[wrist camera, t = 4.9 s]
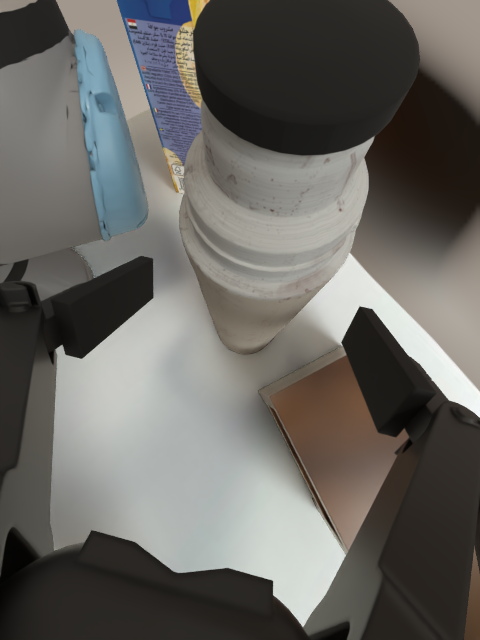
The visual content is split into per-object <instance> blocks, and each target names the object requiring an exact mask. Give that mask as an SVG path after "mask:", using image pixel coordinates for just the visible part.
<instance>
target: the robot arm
mask: <svg viewBox="0 0 480 640" xmlns="http://www.w3.org/2000/svg"><path fill="white" fill-rule="evenodd" d="M147 216H148V203H147V198H146V193H145V189H144V185H143V181H142V177H141V173H140V169H139V165H138V161H137V158H136V154H135V150H134V147H133V143H132V140H131V136H130V132H129V129H128V125H127V122H126V118H125V115H124V111H123V108H122V104H121V101H120V98H119V95H118V91H117V88H116V85H115V82H114V79H113V76H112V73H111V70H110V68H109V64H108V61H107V56H106V54H105V51H104V48H103V46H102V44H101V42H100V41H99V39H98V38H97V37H96V36H94V35H92V34H87V33H85V32H84V31H83V30H81V29H78V30H74V35H73V34H72V33H71V31H70V30H69V28H68V26H67V24H66V22H65V20H64V17H63V15H62V13H61V11H60V9H59V6H58V4H57V2H56V0H0V640H464V633H465V624H466V615H467V606H468V597H469V588H470V579H471V570H472V561H473V552H474V545H475V551H476V556H477V560H478V566H479V571H480V418H479V417H478V416H477V415H476V414H475V413H473V412H472V411H471V410H469V409H468V408H466V407H464V406H462V405H460V404H458V403H455V402H452V401H449V400H448V399H447V398H446V396H445V395H444V394H443V393H442V391H441V390H440V389H439V388H438V386H437V385H436V384H435V383H434V381H431V380H432V379H431V378H430V376H429V375H428V374H426V372H425V370H424V369H423V368H422V367H421V365H420V364H419V363H417V362H416V361H415V360H414V359H412V358H411V357H409V356H408V355H407V353H406V352H405V351H404V350H403V348H402V347H401V346H400V344H399V343H398V342H397V341H396V339H395V338H394V337H393V335H392V334H391V333H390V331H389V330H388V329H387V328H386V326H385V325H384V324H383V322H382V321H381V320H380V319H379V317H378V316H377V315H376V313H375V312H374V311H373V310H372V309H369V308H365V307H359V309H358V311H357V313H356V315H355V317H354V319H353V320H352V322H351V324H350V326H349V328H348V330H347V332H346V334H345V336H344V338H343V340H342V342H341V343H342V345H343V348H344V350H345V353H346V355H347V358H348V360H349V363H350V365H351V367H352V370H353V372H354V375H355V377H356V380H357V382H358V385H359V387H360V390H361V392H362V395H363V397H364V400H365V402H366V405H367V407H368V410H369V412H370V415H371V417H372V420H373V422H374V424H375V427H376V429H377V432H378V433H380V434H384V435H388V436H392V437H397V436H398V435H399V434H400V433H401V432H402V431H403V430H404V428H405V430H406V432H407V434H408V436H409V438H408V439H407V440H406V441H405V442H404V443H403V444H402V445H401V446H400V447H399V448H398V449H397V450H396V451H395V452H394V453H395V454H396V455H397V457H396V459H395V461H394V463H393V465H392V467H391V469H390V471H389V473H388V475H387V477H386V479H385V480H384V482H383V484H382V486H381V488H380V490H379V492H378V494H377V496H376V498H375V500H374V502H373V504H372V506H371V508H370V510H369V512H368V514H367V516H366V518H365V519H364V521H363V523H362V525H361V527H360V529H359V531H358V533H357V535H356V537H355V539H354V541H353V543H352V545H351V547H350V549H349V551H348V553H347V555H346V556H345V558H344V560H343V562H342V564H341V566H340V568H339V570H338V572H337V574H336V576H335V578H334V580H333V582H332V584H331V586H330V588H329V590H328V591H327V593H326V595H325V596H324V598H323V599H322V601H321V602H320V603H319V604H318V606H317V607H316V608H315V609H314V611H313V612H312V614H311V615H310V617H309V618H308V620H307V622H306V624H305V625H304V627H302V626H301V624H300V623H299V621H298V620H297V619H296V618H295V616H294V615H293V614H292V613H291V612H290V610H289V609H288V608H287V607H286V606H285V605H284V604H283V603H282V602H281V601H279V600H278V599H277V598H276V597H274V596H273V581H272V580H268V579H265V578H261V577H258V576H254V575H250V574H247V573H243V572H240V571H236V570H233V569H229V568H224V569H215V570H205V571H196V572H187V573H176V572H173V571H172V570H170V569H169V568H168V567H167V566H165V565H164V564H163V563H161V562H160V561H159V560H157V559H156V558H155V557H154V556H152V555H151V554H150V553H148V552H147V551H146V550H144V549H143V548H142V547H141V546H139V545H138V544H137V543H135V542H132V541H129V540H125V539H122V538H118V537H115V536H111V535H107V534H104V533H100V532H97V531H93V530H91V532H90V534H89V536H88V538H87V539H86V541H85V543H79V544H75V545H71V546H67V547H64V548H61V549H59V550H56V551H53V536H52V531H51V525H50V496H51V475H52V454H53V433H54V411H55V390H56V369H57V354H56V350H55V349H56V348H58V347H59V346H60V345H62V344H63V347H64V351H65V354H66V355H69V356H73V357H77V358H81V359H82V358H83V357H85V356H86V355H87V354H88V353H89V352H90V351H92V350H93V349H94V348H95V347H96V346H97V345H99V344H100V343H101V342H102V341H103V340H104V339H106V338H107V337H108V336H109V335H110V334H112V333H113V332H114V331H115V330H116V329H117V328H119V327H120V326H121V325H122V324H123V323H124V322H126V321H127V320H128V319H129V318H130V317H131V316H133V315H134V314H135V313H136V312H137V311H138V310H140V309H141V308H142V307H143V306H144V305H145V304H147V303H148V302H149V301H150V300H151V299H152V298H153V259H152V258H148V257H144V256H140V257H138V258H136V259H134V260H132V261H130V262H127V263H125V264H123V265H121V266H119V267H117V268H115V269H113V270H111V271H109V272H107V273H104V274H102V275H100V276H98V277H96V278H94V279H93V275H92V272H91V270H90V267H89V266H88V264H87V263H86V261H85V260H84V259H83V258H82V257H81V256H80V255H78V254H77V253H76V252H75V251H73V250H72V249H71V248H70V247H74V246H78V245H81V244H85V243H89V242H93V241H96V240H100V239H103V240H104V241H108V240H110V238H111V237H112V236H115V235H118V234H121V233H125V232H128V231H131V230H134V229H137V228H139V227H140V226H142V225H143V224H144V223H145V221H146V219H147Z"/></svg>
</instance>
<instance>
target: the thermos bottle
mask: <svg viewBox="0 0 480 640" xmlns="http://www.w3.org/2000/svg"><path fill="white" fill-rule="evenodd" d="M193 52H194V61H195V68H196V76H197V83H198V86H199V90H200V93H201V96H202V102H201V125H202V130H201V131H200V132H199V134H198V135H197V136H196V137H195V139H194V140H193V142H192V144H191V146H190V148H189V150H188V152H187V156H186V161H185V165H184V185H185V186H184V195H183V198H182V202H181V206H180V211H179V228H180V232H181V236H182V241H183V244H184V247H185V250H186V252H187V255H188V257H189V260H190V262H191V265H192V267H193V269H194V271H195V273H196V276H197V278H198V281H199V285H200V288H201V291H202V294H203V296H204V299H205V302H206V304H207V307H208V309H209V312H210V315H211V317H212V320H213V322H214V325H215V328H216V330H217V333H218V335H219V337H220V339H221V341H222V342H223V344H224V345H225V346H226V347H227V348H229V349H230V350H232V351H234V352H237V353H241V354H251V353H255V352H257V351H259V350H261V349H263V348H264V347H265V346H266V345H267V344H268V343H269V342H270V341H271V340H272V339H273V338H274V337H275V336H276V334H277V333H278V332H280V331H281V330H282V329H283V328H284V327H285V326H286V325H287V324H288V323H289V322H290V321H291V320H292V318H293V317H294V316H295V315H296V314H297V313H298V312H299V311H300V310H301V309H302V308H303V307H304V306H305V305H306V304H307V303H308V302H309V301H310V300H311V299H312V298H313V297H314V296H315V295H316V294H317V293H318V292H319V291H320V290H321V289H322V287H323V286H324V285H325V284H326V283H327V282H328V281H329V280H330V279H331V278H332V277H333V276H334V275H335V274H336V272H337V271H338V270H339V269H340V268H341V266H342V265H343V264H344V262H345V260H346V258H347V256H348V255H349V253H350V250H351V248H352V244H353V240H354V236H355V230H356V228H357V226H358V224H359V221H360V218H361V215H362V211H363V207H364V205H365V202H366V197H367V193H368V171H367V167H366V163H365V159H364V156H365V154H366V153H367V151H368V149H369V147H370V145H371V144H372V142H373V139H374V136H375V135H377V134H378V133H379V132H380V131H381V130H382V129H383V128H384V127H385V126H386V125H387V124H388V123H389V122H390V120H391V119H392V117H393V116H394V114H395V112H396V111H397V109H398V108H399V106H400V104H401V103H402V101H403V99H404V97H405V96H406V94H407V92H408V91H409V89H410V87H411V85H412V83H413V82H414V80H415V78H416V76H417V72H418V67H419V62H420V55H419V45H418V41H417V39H416V36H415V33H414V31H413V28H412V27H411V25H410V24H409V22H408V21H407V19H406V18H405V17H404V15H403V14H402V13H401V12H400V11H399V10H398V9H397V8H396V7H395V6H394V5H393V4H392V3H391V2H389V1H388V0H210V1H209V2H208V3H207V4H206V5H205V7H204V8H203V10H202V12H201V13H200V15H199V16H198V18H197V21H196V24H195V28H194V31H193Z"/></svg>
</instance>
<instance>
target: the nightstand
mask: <svg viewBox="0 0 480 640" xmlns="http://www.w3.org/2000/svg"><path fill="white" fill-rule="evenodd" d="M259 393H260V395H261V397H262V399H263V401H264V402H265V403H266V404H267V406H268V408H269V410H270V412H271V414H272V416H273V418H274V420H275V422H276V424H277V425H278V427H279V429H280V431H281V433H282V435H283V437H284V439H285V441H286V443H287V445H288V447H289V449H290V451H291V453H292V455H293V457H294V459H295V461H296V463H297V465H298V467H299V469H300V471H301V473H302V475H303V477H304V479H305V481H306V483H307V485H308V487H309V489H310V491H311V493H312V495H313V498H312V499H313V501H314V503H315V505H316V507H317V509H318V511H319V513H320V514H321V516H322V518H323V519H324V521H325V522H326V524H327V525H328V527H329V529H330V530H331V532H332V533H333V535H334V537H335V538H336V540H337V541H338V543H339V545H340V546H341V548H342V549H343V551H344V552H345V554H346V555H347V553H348V551H349V549H350V547H351V545H352V543H353V541H354V539H355V537H356V535H357V533H358V531H359V529H360V527H361V525H362V523H363V521H364V519H365V518H366V516H367V514H368V512H369V510H370V508H371V506H372V504H373V502H374V500H375V498H376V496H377V494H378V492H379V490H380V488H381V486H382V484H383V482H384V480H385V479H386V477H387V475H388V473H389V471H390V469H391V467H392V465H393V463H394V461H395V459H396V457H397V455H396V454H395V453H394V452H395V451H396V450H397V449H398V448H399V447H400V446H401V445H402V444H403V443H404V442H405V441H406V440H407V439H408V438H409V436H408V434H407V432H406V430H405V428H404V430H403V431H402V432H401V433H400V434H399V435H398V436H397V437H392V436H388V435H384V434H380V433H378V432H377V429H376V427H375V424H374V422H373V420H372V417H371V415H370V412H369V410H368V407H367V405H366V402H365V400H364V397H363V395H362V392H361V390H360V387H359V385H358V382H357V380H356V377H355V375H354V372H353V370H352V367H351V365H350V363H349V360H348V358H347V355H346V353H345V350H344V348H343V346H341V347H339V348H337V349H335V350H334V351H332V352H330V353H328V354H326V355H324V356H322V357H320V358H319V359H317V360H315V361H313V362H311V363H309V364H307V365H306V366H304V367H302V368H300V369H298V370H296V371H294V372H292V373H291V374H289V375H287V376H285V377H283V378H281V379H279V380H277V381H276V382H274V383H272V384H270V385H268V386H266V387H264V388H263V389H261V390H259Z"/></svg>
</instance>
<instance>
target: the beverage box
mask: <svg viewBox="0 0 480 640" xmlns="http://www.w3.org/2000/svg"><path fill="white" fill-rule="evenodd" d="M209 1H210V0H117V3H118V6H119V9H120V12H121V16H122V19H123V22H124V25H125V28H126V31H127V35H128V38H129V41H130V44H131V47H132V51H133V54H134V57H135V60H136V64H137V67H138V70H139V73H140V76H141V80H142V83H143V86H144V89H145V92H146V96H147V99H148V102H149V105H150V109H151V112H152V115H153V118H154V121H155V125H156V128H157V131H158V134H159V138H160V141H161V144H162V147H163V150H164V154H165V157H166V160H167V163H168V166H169V170H170V173H171V176H172V179H173V182H174V186H175V189H176V192H177V193H183V194H184V186H185V185H184V165H185V161H186V156H187V152H188V150H189V148H190V146H191V144H192V142H193V140H194V139H195V137H196V136H197V135H198V134H199V132H200V131H201V130H202V125H201V102H202V96H201V93H200V90H199V86H198V83H197V76H196V68H195V61H194V52H193V31H194V28H195V24H196V21H197V18H198V16H199V15H200V13H201V12H202V10H203V8H204V7H205V5H206V4H207V3H208V2H209Z"/></svg>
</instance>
